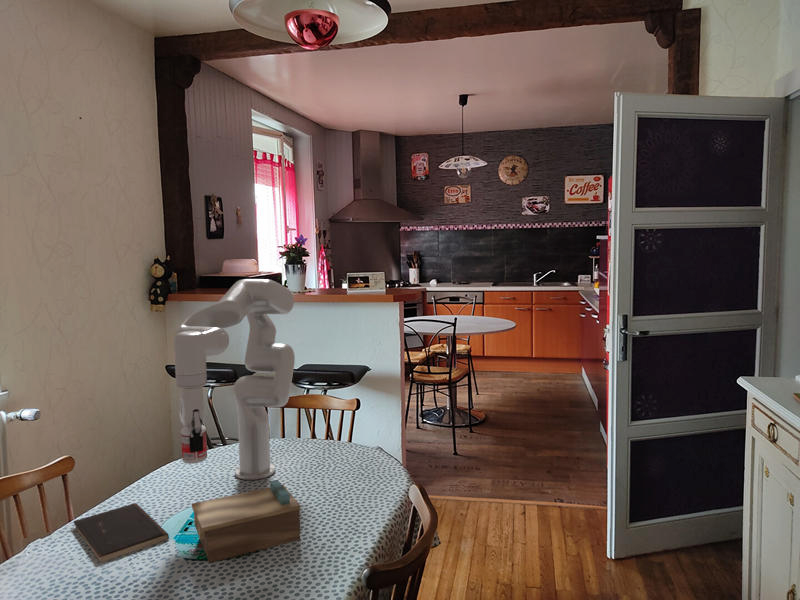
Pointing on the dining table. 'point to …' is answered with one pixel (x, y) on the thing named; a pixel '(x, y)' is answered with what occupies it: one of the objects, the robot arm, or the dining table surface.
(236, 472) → the robot arm
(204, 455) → the pill bottle
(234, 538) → the brown boxy piece
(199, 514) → the toolbox lid
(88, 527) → the hardcover book
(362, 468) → the dining table surface
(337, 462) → the dining table surface
